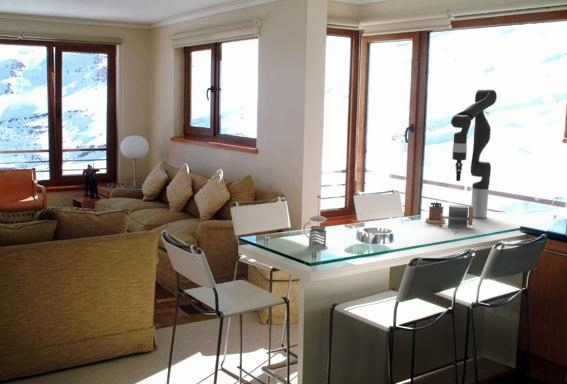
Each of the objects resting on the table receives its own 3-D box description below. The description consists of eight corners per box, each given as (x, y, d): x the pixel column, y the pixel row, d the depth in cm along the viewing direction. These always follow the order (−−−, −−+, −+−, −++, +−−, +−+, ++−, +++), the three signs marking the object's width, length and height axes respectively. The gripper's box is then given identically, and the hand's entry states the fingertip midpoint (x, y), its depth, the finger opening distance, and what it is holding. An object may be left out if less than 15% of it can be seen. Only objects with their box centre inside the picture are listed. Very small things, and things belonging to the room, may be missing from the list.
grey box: (448, 225, 371) (449, 204, 369) (466, 226, 369) (467, 205, 367) (448, 227, 365) (449, 206, 363) (467, 228, 362) (468, 207, 361)
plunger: (440, 224, 372) (441, 203, 370) (471, 226, 368) (472, 205, 366) (440, 226, 366) (441, 205, 364) (472, 228, 362) (473, 207, 360)
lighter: (441, 219, 381) (442, 202, 379) (443, 220, 377) (444, 203, 376) (427, 219, 380) (428, 201, 379) (429, 220, 377) (430, 202, 375)
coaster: (425, 219, 386) (425, 217, 386) (445, 220, 384) (445, 218, 384) (425, 223, 376) (425, 220, 376) (445, 224, 373) (445, 221, 373)
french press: (329, 250, 308) (331, 196, 304) (304, 250, 307) (305, 196, 303) (326, 245, 317) (327, 193, 314) (302, 245, 316) (303, 193, 313)
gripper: (466, 152, 364) (465, 182, 367) (466, 150, 378) (465, 178, 381) (452, 152, 366) (451, 181, 369) (452, 149, 380) (451, 177, 383)
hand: (458, 179), depth 375 cm, fingers open, 8 cm apart
